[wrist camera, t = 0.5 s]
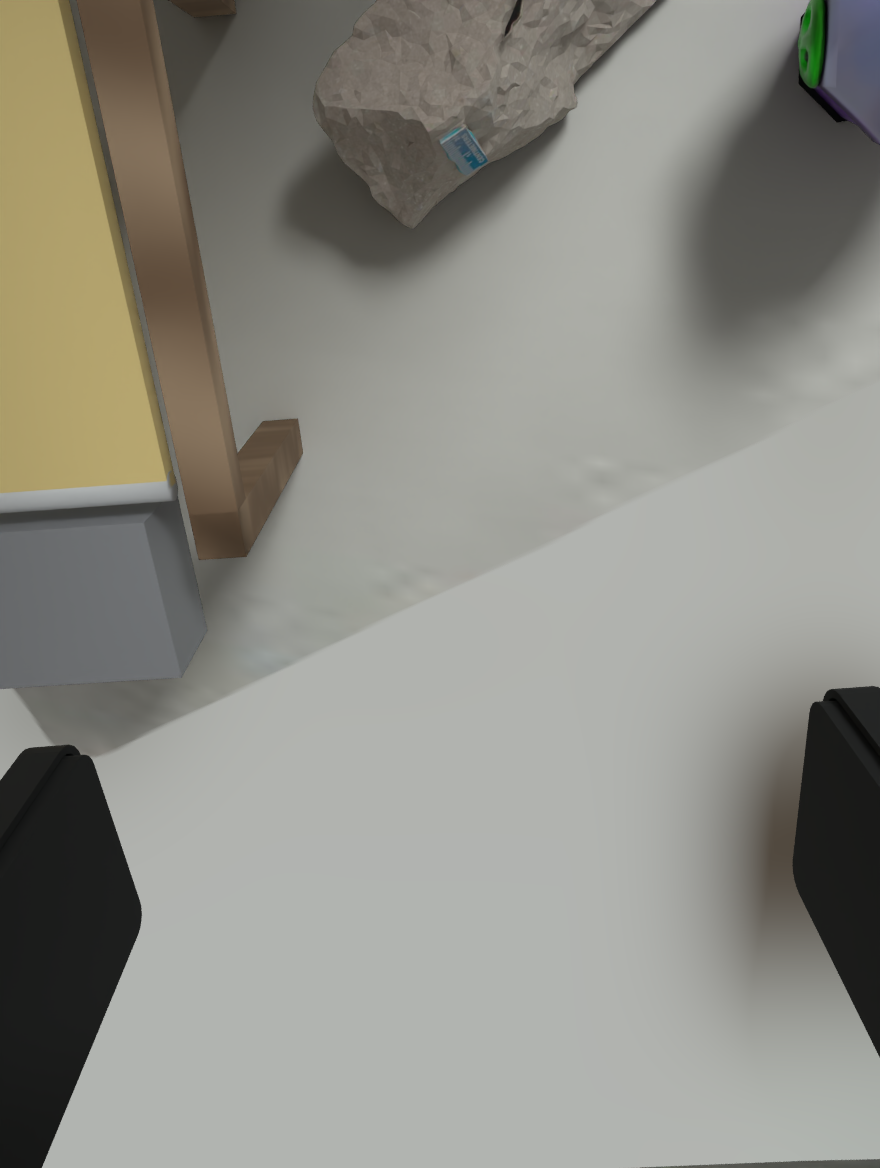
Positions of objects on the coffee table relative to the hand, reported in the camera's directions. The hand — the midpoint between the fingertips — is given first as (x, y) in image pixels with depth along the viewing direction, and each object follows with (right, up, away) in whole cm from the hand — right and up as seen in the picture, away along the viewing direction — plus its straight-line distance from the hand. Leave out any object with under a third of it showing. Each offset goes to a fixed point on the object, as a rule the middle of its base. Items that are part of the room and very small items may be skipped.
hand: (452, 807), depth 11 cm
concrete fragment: (+2, +24, +21) cm, 32 cm away
